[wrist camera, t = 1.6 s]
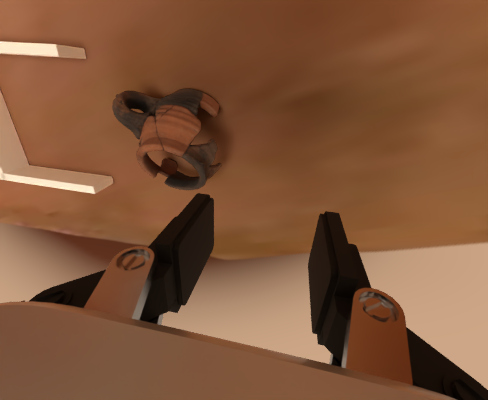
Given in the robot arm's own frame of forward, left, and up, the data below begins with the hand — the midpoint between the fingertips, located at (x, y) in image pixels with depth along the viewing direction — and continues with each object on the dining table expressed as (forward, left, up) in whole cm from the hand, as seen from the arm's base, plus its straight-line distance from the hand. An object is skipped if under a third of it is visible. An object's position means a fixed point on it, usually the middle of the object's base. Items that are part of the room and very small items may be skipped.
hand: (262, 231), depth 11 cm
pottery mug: (0, -11, -18) cm, 21 cm away
